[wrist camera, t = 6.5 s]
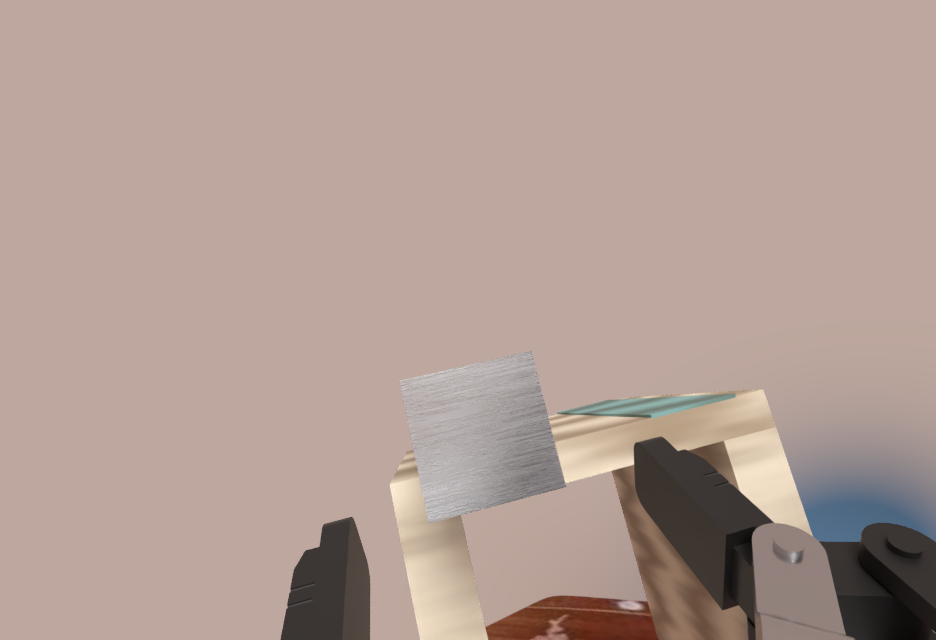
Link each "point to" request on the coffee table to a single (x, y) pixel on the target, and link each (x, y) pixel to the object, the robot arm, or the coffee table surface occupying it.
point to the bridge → (612, 449)
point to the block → (481, 436)
